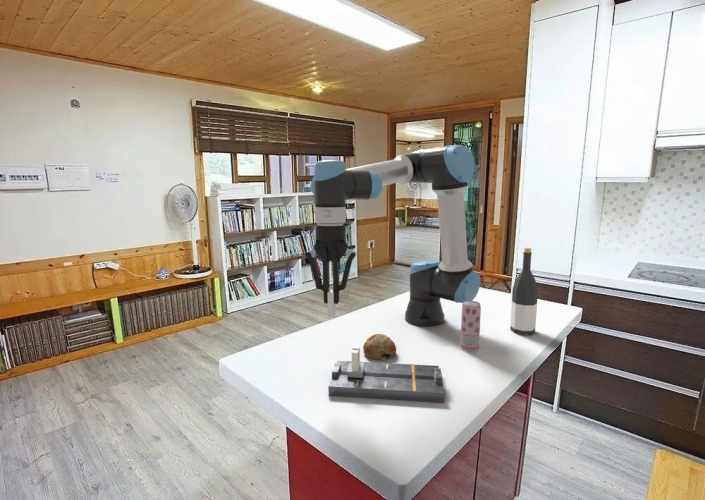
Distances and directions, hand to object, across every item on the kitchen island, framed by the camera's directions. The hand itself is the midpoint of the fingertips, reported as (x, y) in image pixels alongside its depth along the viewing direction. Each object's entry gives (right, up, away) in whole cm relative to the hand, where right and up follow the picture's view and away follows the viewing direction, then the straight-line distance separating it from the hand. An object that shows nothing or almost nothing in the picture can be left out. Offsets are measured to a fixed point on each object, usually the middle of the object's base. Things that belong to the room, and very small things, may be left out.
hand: (331, 315), depth 96 cm
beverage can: (+43, -15, +23) cm, 51 cm away
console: (+14, -18, +1) cm, 23 cm away
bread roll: (+14, -16, +20) cm, 29 cm away
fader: (+6, -15, +2) cm, 17 cm away
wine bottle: (+66, -12, +37) cm, 77 cm away
